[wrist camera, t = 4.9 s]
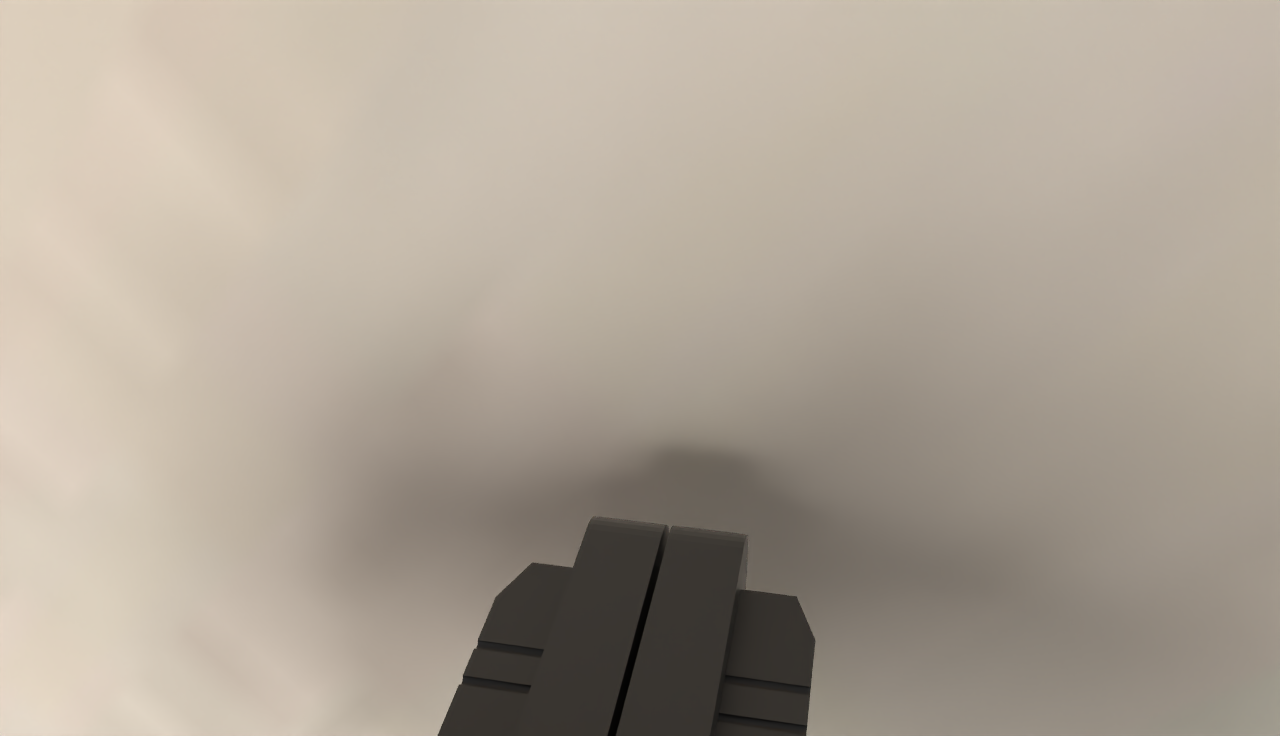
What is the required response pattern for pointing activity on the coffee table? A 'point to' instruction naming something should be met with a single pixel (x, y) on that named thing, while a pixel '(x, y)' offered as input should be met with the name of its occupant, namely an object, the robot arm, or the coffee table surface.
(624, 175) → the coffee table surface
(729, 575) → the robot arm
